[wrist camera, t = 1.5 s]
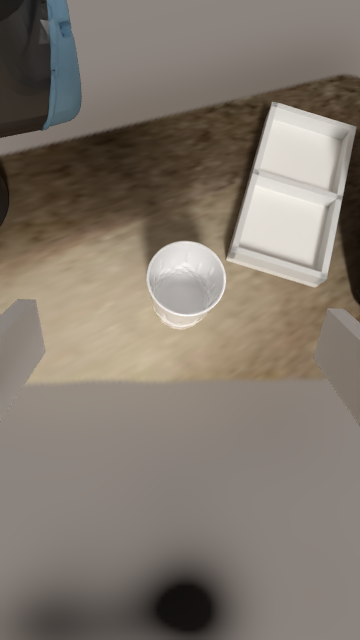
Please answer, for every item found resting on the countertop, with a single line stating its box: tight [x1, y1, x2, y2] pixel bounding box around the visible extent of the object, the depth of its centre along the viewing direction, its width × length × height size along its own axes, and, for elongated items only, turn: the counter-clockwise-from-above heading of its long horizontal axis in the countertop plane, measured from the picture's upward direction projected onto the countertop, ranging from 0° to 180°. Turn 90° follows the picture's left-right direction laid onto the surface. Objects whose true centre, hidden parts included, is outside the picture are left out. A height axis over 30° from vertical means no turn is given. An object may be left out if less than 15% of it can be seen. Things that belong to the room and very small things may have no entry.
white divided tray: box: [226, 102, 356, 287], centre depth 44 cm, size 13×24×3 cm, turn 163°
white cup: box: [147, 241, 226, 330], centre depth 36 cm, size 8×8×10 cm
